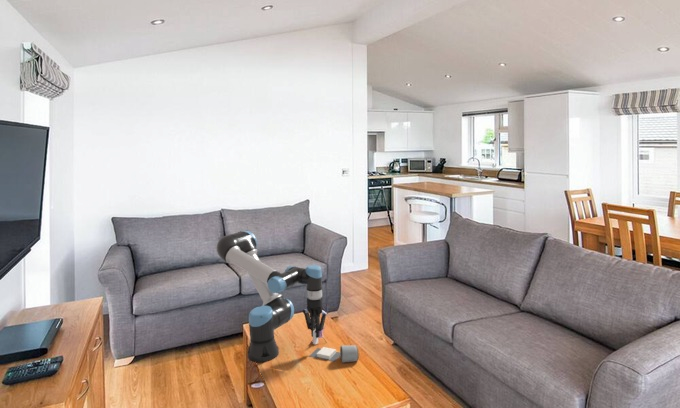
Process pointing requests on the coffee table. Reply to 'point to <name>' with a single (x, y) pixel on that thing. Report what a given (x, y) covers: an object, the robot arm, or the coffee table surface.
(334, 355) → the mat
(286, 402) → the coffee table surface
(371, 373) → the coffee table surface
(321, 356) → the tile
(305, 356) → the coffee table surface
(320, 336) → the lily
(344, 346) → the ceramic mug
